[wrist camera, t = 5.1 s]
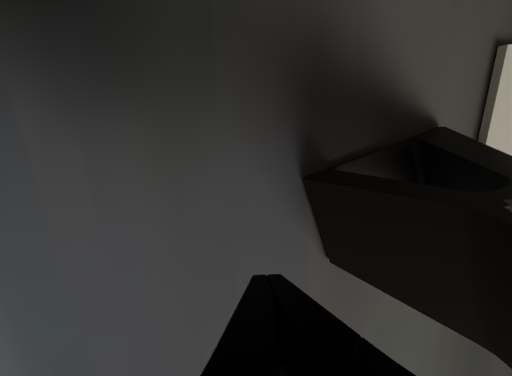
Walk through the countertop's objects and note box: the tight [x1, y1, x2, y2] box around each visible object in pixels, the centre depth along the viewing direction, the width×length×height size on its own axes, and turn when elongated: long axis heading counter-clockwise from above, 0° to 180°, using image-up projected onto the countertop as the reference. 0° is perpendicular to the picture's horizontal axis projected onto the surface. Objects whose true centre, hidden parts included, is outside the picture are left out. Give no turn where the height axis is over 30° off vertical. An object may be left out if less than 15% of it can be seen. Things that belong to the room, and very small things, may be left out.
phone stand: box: [304, 127, 512, 369], centre depth 12 cm, size 9×6×12 cm, turn 109°
